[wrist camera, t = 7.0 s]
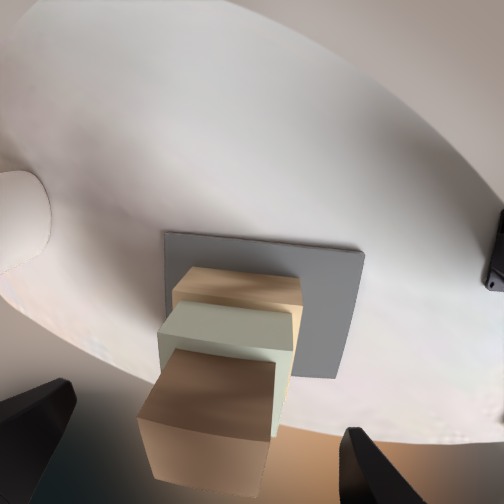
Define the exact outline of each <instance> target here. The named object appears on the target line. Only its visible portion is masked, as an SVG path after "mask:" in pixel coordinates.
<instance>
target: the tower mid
mask: <svg viewBox="0 0 504 504" xmlns="http://www.w3.org/2000/svg"><path fill="white" fill-rule="evenodd" d="M157 338H158V349H159V359H160V368H161V373H162V371H163V369H164V367H165V365H166V364H167V362H168V360H169V358H170V357H171V355H172V353H173V351H174V350H175V348H177V349H182V350H188V351H193V352H199V353H205V354H212V355H218V356H225V357H232V358H240V359H247V360H256V361H265V362H274V363H276V369H275V384H274V399H273V413H272V426H271V437H276V434H277V429H278V425H279V421H280V416H281V411H282V407H283V402H284V397H285V392H286V387H287V382H288V377H289V372H290V367H291V361H292V356H293V323H292V313H283V312H273V311H264V310H255V309H246V308H238V307H230V306H222V305H214V304H207V303H199V302H192V301H186V300H180V301H179V303H178V304H177V305H176V307H175V308H174V310H173V311H172V312H171V314H170V315H169V316H168V318H167V319H166V321H165V322H164V323H163V325H162V326H161V327H160V329H159V330H158V332H157Z"/></svg>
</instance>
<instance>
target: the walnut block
mask: <svg viewBox="0 0 504 504" xmlns="http://www.w3.org/2000/svg"><path fill="white" fill-rule="evenodd" d="M275 369H276V363H274V362H265V361H256V360H247V359H240V358H232V357H225V356H218V355H212V354H205V353H199V352H193V351H188V350H182V349H177V348H175V350H174V351H173V353H172V355H171V357H170V358H169V360H168V362H167V364H166V365H165V367H164V369H163V371H162V373H161V374H160V376H159V378H158V380H157V381H156V383H155V385H154V387H153V389H152V390H151V392H150V394H149V396H148V398H147V399H146V401H145V403H144V405H143V407H142V409H141V410H140V412H139V414H138V416H137V421H138V424H139V428H140V432H141V435H142V439H143V443H144V446H145V450H146V453H147V456H148V459H149V463H150V466H151V469H152V472H153V475H154V478H156V479H159V480H163V481H167V482H170V483H174V484H179V485H182V486H187V487H191V488H196V489H201V490H206V491H212V492H218V493H224V494H230V495H238V496H246V497H256V498H257V497H258V493H259V489H260V485H261V480H262V476H263V472H264V468H265V463H266V459H267V455H268V450H269V445H270V438H271V426H272V413H273V399H274V384H275Z"/></svg>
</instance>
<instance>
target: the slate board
mask: <svg viewBox="0 0 504 504" xmlns="http://www.w3.org/2000/svg"><path fill="white" fill-rule="evenodd" d="M164 251H165V297H166V318H168V316H169V315H170V314H171V312H172V311H173V305H172V290H173V289H174V287H175V286H176V285H177V284H178V283H179V282H180V280H181V279H182V278H183V277H184V276H185V275H186V273H187V272H188V271H189V270H190V269H191V268H192V266H194V267H202V268H211V269H219V270H228V271H237V272H246V273H255V274H264V275H274V276H283V277H293V278H300V284H301V292H302V300H303V310H302V316H301V322H300V328H299V334H298V339H297V345H296V350H295V356H294V361H293V366H292V371H291V376H297V377H312V378H330V379H335V378H336V375H337V372H338V368H339V365H340V361H341V358H342V354H343V351H344V347H345V343H346V339H347V336H348V332H349V328H350V324H351V320H352V315H353V311H354V307H355V302H356V298H357V293H358V289H359V284H360V279H361V274H362V269H363V264H364V259H365V254H364V253H363V252H358V251H349V250H340V249H331V248H322V247H312V246H303V245H293V244H284V243H274V242H264V241H255V240H245V239H235V238H224V237H214V236H204V235H194V234H183V233H172V232H167V233H165V234H164Z"/></svg>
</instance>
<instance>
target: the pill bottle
mask: <svg viewBox="0 0 504 504" xmlns="http://www.w3.org/2000/svg"><path fill="white" fill-rule="evenodd" d="M50 231H51V210H50V204H49V200H48V197H47V194H46V191H45V189H44V187H43V185H42V184H41V182H40V181H39V180H38V179H37V177H35V176H34V175H33V174H31V173H29V172H27V171H9V172H3V173H0V275H1V274H3V273H5V272H7V271H9V270H11V269H13V268H15V267H17V266H19V265H21V264H23V263H25V262H27V261H29V260H31V259H33V258H34V257H36V256H37V255H39V254H40V253H41V252H42V251H43V249H44V248H45V246H46V244H47V242H48V239H49V236H50Z"/></svg>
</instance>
